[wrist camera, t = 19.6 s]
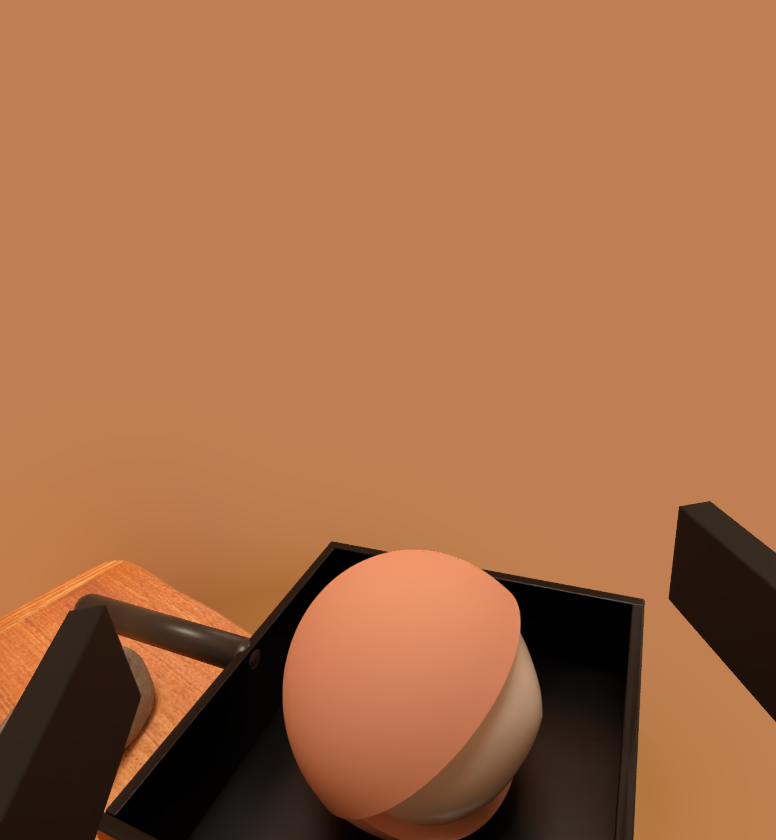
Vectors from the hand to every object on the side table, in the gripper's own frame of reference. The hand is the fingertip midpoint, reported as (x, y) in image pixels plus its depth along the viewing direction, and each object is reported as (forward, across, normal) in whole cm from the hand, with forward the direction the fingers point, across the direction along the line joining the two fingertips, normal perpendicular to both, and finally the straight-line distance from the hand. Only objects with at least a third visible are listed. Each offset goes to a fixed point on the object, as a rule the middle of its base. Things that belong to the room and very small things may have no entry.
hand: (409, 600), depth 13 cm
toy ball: (+2, 0, -9) cm, 10 cm away
